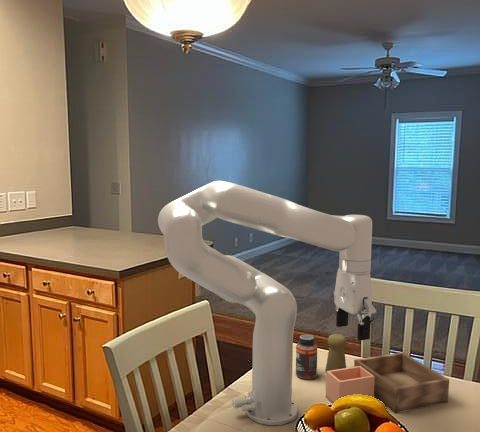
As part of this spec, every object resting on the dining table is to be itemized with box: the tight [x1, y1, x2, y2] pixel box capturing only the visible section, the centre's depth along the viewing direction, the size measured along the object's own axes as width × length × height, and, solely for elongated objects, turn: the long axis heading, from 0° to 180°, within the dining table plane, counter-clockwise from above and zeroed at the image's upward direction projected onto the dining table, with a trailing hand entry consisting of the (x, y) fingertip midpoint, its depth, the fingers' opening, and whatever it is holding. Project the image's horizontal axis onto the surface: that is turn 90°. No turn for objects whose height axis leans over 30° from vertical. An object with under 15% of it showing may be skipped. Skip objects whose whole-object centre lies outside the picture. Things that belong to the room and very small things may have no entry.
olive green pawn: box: [324, 333, 347, 373], centre depth 138 cm, size 6×6×11 cm
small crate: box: [325, 366, 375, 404], centre depth 123 cm, size 10×6×7 cm, turn 109°
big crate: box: [353, 352, 450, 414], centre depth 128 cm, size 16×18×6 cm
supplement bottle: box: [295, 334, 318, 380], centre depth 136 cm, size 6×6×11 cm
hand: (352, 332), depth 121 cm, fingers open, 9 cm apart
